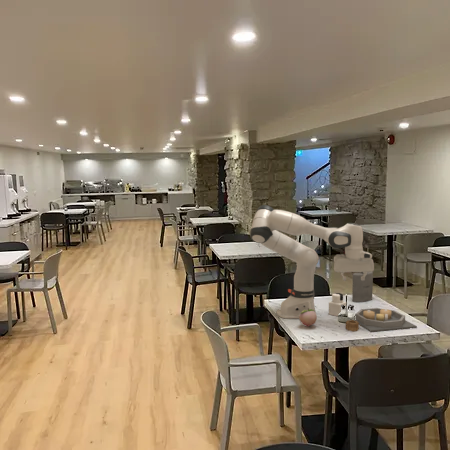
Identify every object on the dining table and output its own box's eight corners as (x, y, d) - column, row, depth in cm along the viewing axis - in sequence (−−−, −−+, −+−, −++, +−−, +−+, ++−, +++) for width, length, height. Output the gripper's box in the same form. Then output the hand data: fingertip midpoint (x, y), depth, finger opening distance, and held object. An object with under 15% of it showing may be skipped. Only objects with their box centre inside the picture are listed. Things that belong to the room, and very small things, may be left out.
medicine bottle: (335, 311, 261) (335, 291, 259) (346, 314, 256) (346, 293, 254) (328, 314, 256) (328, 293, 254) (339, 317, 251) (339, 296, 249)
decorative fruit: (308, 330, 229) (308, 311, 228) (296, 326, 236) (296, 308, 235) (320, 327, 235) (320, 308, 234) (309, 323, 241) (309, 304, 240)
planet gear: (349, 332, 227) (349, 324, 226) (343, 327, 233) (343, 320, 233) (360, 330, 228) (360, 323, 228) (354, 326, 234) (354, 319, 234)
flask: (357, 303, 277) (358, 271, 275) (350, 301, 282) (351, 269, 280) (375, 299, 284) (375, 268, 282) (368, 297, 289) (368, 267, 287)
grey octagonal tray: (370, 332, 226) (370, 320, 226) (346, 316, 251) (346, 306, 251) (416, 328, 232) (417, 316, 231) (388, 313, 257) (388, 302, 256)
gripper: (334, 255, 231) (334, 281, 232) (375, 254, 230) (374, 281, 232) (332, 253, 237) (332, 279, 239) (371, 252, 236) (371, 278, 238)
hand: (353, 280), depth 235 cm, fingers open, 8 cm apart
